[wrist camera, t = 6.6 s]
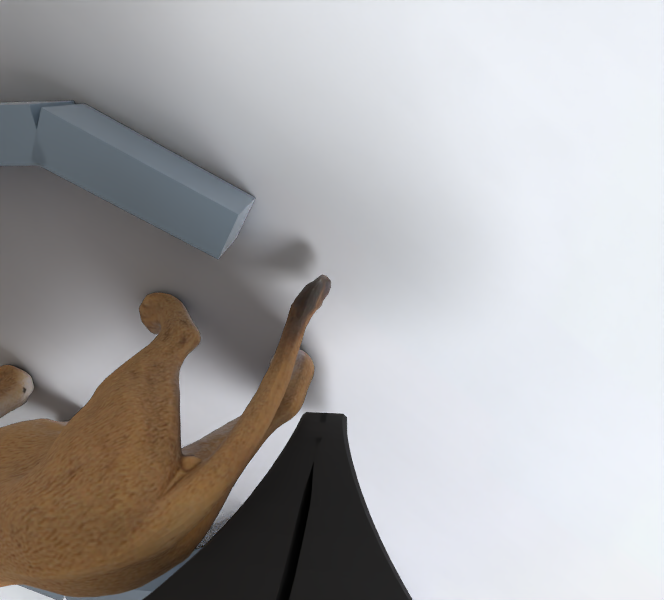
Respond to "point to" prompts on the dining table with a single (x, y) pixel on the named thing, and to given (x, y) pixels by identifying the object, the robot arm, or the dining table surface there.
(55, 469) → the lion figurine
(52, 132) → the groove ring
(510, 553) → the dining table surface
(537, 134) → the dining table surface
